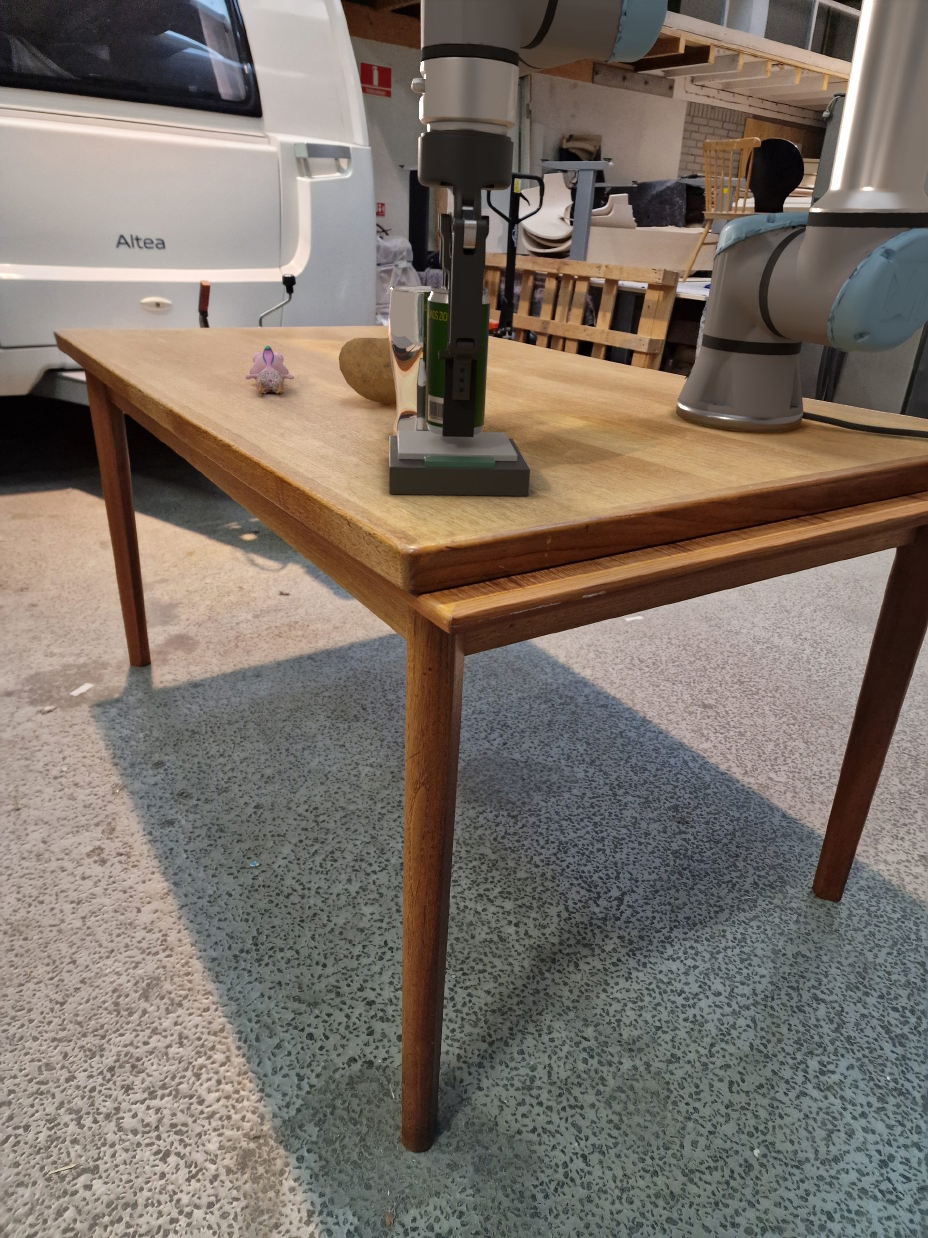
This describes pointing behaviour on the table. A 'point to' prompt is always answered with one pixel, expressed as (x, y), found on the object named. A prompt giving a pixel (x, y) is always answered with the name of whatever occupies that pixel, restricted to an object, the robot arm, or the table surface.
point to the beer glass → (409, 354)
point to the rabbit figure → (269, 371)
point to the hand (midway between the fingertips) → (455, 427)
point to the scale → (456, 465)
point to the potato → (369, 368)
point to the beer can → (435, 366)
